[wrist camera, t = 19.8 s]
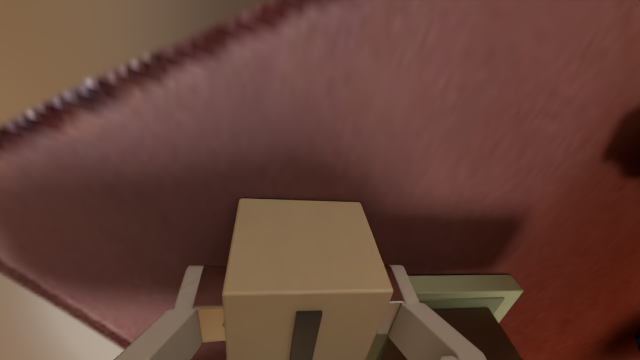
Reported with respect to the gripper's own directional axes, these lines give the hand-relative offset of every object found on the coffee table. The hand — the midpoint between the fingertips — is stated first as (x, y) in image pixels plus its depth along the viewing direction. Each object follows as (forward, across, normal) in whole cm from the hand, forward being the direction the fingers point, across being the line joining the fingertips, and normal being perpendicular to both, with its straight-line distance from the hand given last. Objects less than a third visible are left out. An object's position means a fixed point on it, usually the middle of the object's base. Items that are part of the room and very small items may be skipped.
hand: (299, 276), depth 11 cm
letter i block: (+2, 0, 0) cm, 2 cm away
